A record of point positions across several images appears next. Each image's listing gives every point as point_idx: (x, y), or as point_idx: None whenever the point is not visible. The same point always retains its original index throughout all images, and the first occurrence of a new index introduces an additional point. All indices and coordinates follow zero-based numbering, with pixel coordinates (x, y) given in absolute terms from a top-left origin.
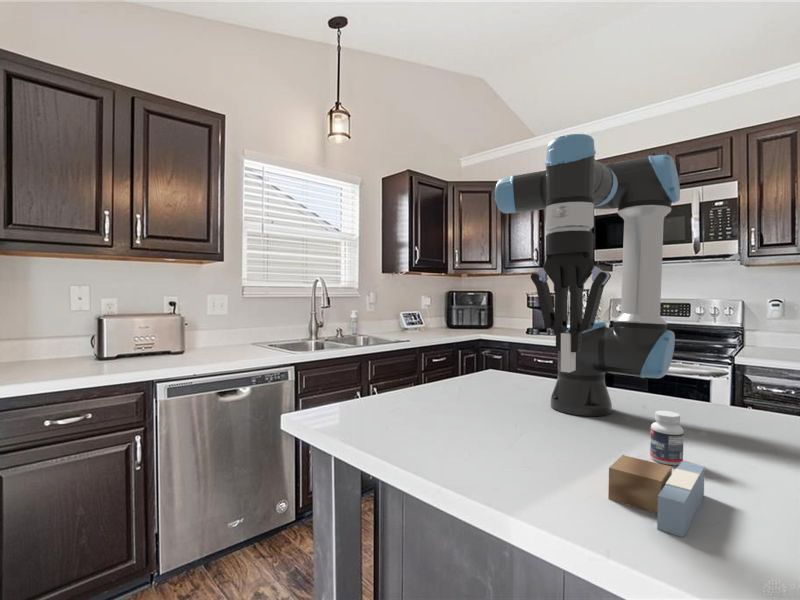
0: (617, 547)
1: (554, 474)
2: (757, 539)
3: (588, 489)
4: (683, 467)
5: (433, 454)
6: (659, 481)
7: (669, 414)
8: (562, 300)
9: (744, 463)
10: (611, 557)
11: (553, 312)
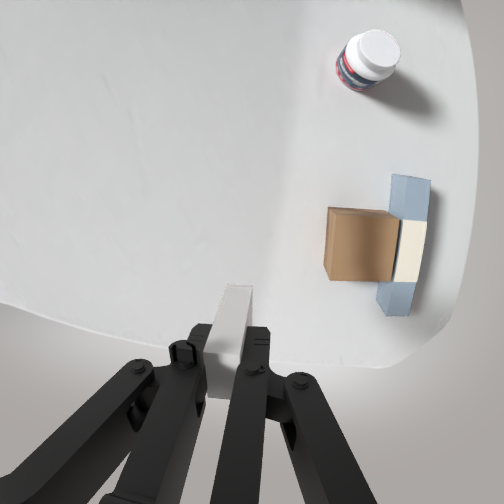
0: (347, 349)
1: (242, 237)
2: (448, 257)
3: (296, 254)
4: (410, 203)
5: (98, 281)
6: (388, 280)
7: (385, 52)
8: (179, 496)
9: (431, 32)
10: (344, 364)
11: (124, 410)
